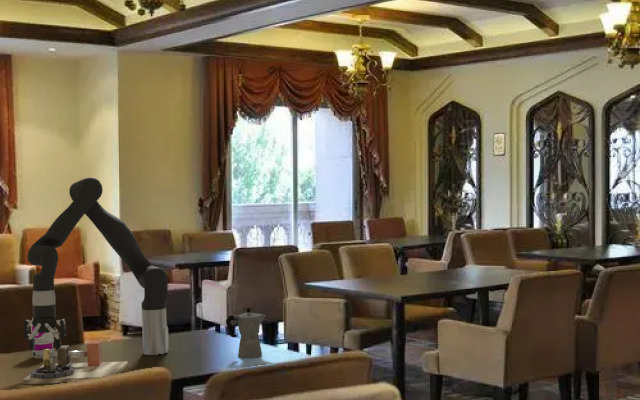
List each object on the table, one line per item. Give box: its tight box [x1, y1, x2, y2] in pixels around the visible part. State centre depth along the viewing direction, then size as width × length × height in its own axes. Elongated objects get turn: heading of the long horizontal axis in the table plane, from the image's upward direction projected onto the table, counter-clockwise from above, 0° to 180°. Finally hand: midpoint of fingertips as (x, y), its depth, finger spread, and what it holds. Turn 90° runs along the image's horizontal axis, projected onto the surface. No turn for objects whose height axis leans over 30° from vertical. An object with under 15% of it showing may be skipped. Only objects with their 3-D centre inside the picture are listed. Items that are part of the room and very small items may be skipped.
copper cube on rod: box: [50, 340, 103, 366], centre depth 316 cm, size 18×4×8 cm, turn 90°
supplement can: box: [30, 317, 55, 359], centre depth 341 cm, size 8×8×15 cm
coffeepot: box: [225, 307, 267, 359], centre depth 331 cm, size 15×9×18 cm, turn 110°
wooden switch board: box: [22, 344, 129, 385], centre depth 308 cm, size 30×24×8 cm
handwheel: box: [30, 349, 75, 379], centre depth 303 cm, size 14×14×8 cm
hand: (45, 349), depth 308 cm, fingers open, 8 cm apart
